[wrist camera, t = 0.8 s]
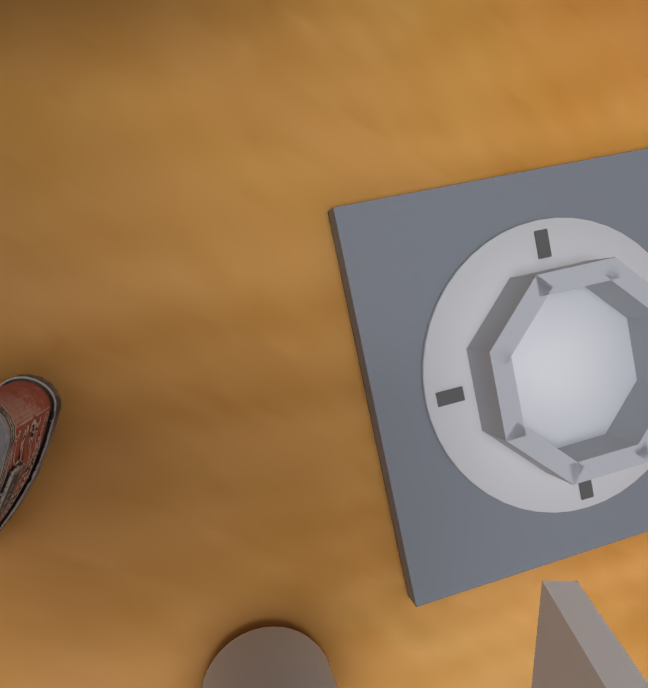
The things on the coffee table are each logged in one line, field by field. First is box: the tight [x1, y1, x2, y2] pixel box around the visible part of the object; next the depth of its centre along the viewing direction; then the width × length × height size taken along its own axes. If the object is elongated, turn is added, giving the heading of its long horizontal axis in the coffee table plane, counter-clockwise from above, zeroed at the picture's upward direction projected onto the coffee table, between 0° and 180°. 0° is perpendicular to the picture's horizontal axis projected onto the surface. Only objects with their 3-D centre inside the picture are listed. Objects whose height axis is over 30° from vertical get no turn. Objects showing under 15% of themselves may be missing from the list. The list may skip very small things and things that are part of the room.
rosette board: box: [328, 148, 648, 607], centre depth 30 cm, size 20×20×4 cm
